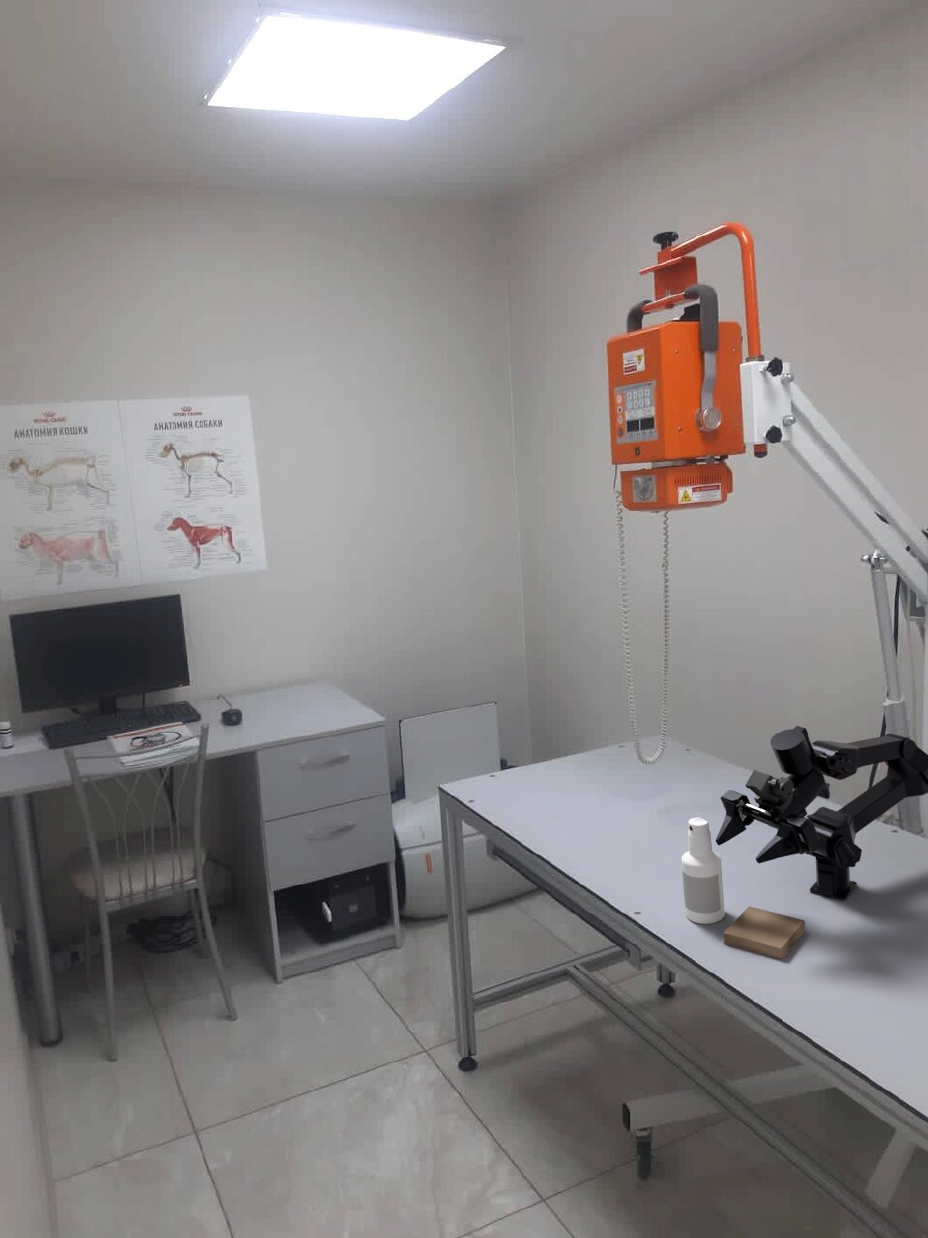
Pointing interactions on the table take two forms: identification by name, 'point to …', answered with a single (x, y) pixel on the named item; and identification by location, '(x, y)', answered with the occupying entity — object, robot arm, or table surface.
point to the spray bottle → (702, 876)
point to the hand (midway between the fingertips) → (736, 852)
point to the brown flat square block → (764, 932)
